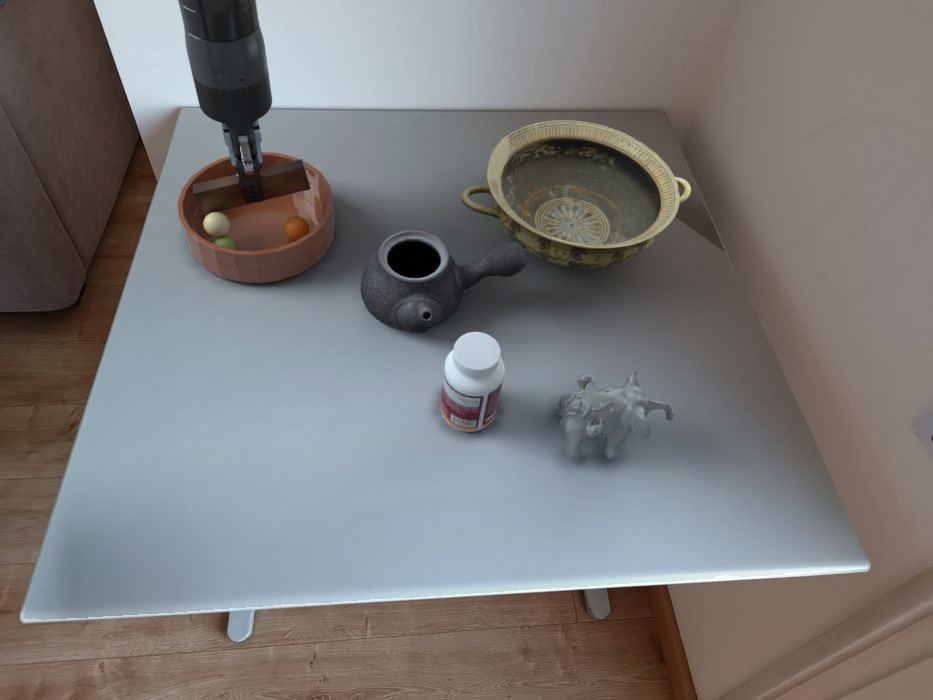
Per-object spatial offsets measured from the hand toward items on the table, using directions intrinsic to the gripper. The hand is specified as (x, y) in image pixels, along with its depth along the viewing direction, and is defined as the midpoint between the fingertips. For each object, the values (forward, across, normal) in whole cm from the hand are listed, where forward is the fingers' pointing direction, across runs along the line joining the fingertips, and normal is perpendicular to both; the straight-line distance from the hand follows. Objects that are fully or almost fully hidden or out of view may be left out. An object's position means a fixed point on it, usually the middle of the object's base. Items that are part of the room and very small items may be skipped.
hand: (253, 195), depth 86 cm
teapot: (+6, -17, -19) cm, 26 cm away
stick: (+1, 0, 0) cm, 1 cm away
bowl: (+6, 0, 0) cm, 6 cm away
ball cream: (+3, -3, +6) cm, 7 cm away
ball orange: (+5, -3, -5) cm, 8 cm away
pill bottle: (+6, -32, -18) cm, 37 cm away
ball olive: (+4, -6, +5) cm, 8 cm away
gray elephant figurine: (+6, -38, -32) cm, 50 cm away
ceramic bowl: (+6, -9, -39) cm, 41 cm away
